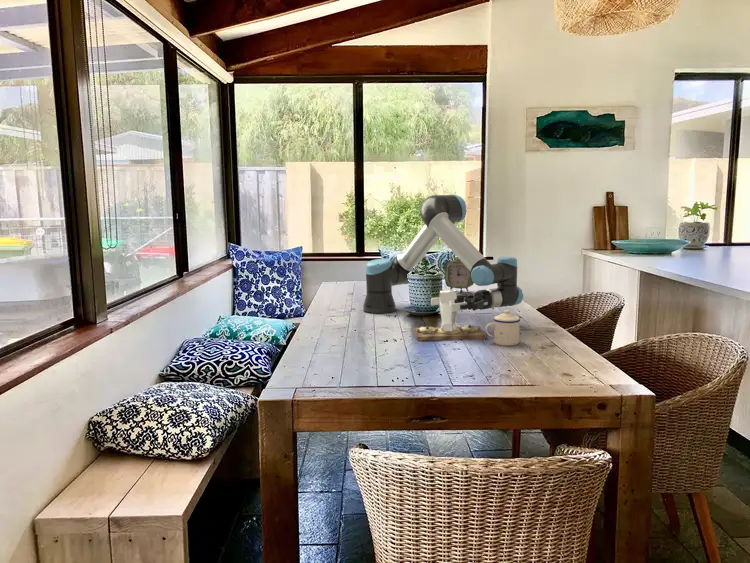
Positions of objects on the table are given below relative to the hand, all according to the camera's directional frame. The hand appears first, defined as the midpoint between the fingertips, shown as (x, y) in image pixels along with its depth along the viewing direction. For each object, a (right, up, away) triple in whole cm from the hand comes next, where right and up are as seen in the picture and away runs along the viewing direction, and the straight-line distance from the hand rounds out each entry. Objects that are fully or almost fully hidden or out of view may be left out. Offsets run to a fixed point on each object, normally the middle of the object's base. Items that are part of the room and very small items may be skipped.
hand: (441, 304), depth 207 cm
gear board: (+3, -12, +3) cm, 12 cm away
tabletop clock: (+21, +2, +93) cm, 95 cm away
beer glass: (+3, -10, +3) cm, 11 cm away
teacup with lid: (+21, -13, -9) cm, 26 cm away
